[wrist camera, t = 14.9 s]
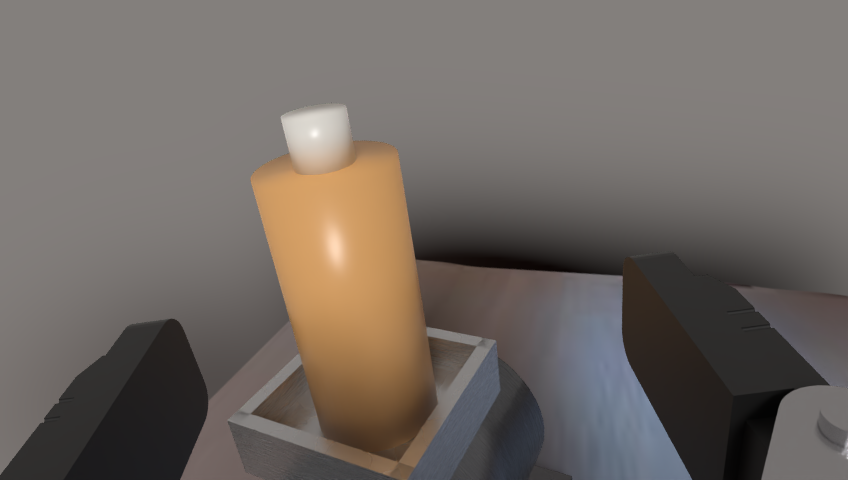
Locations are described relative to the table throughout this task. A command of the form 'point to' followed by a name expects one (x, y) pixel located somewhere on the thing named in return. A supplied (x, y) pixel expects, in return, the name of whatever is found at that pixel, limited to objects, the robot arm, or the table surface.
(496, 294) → the table surface
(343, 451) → the motor
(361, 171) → the orange capped bottle
